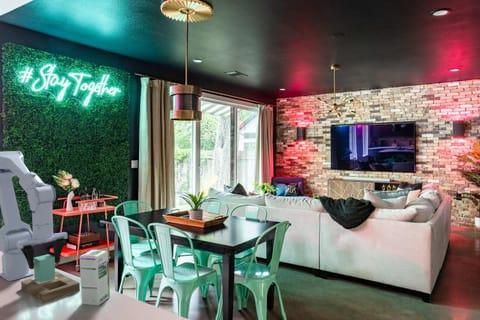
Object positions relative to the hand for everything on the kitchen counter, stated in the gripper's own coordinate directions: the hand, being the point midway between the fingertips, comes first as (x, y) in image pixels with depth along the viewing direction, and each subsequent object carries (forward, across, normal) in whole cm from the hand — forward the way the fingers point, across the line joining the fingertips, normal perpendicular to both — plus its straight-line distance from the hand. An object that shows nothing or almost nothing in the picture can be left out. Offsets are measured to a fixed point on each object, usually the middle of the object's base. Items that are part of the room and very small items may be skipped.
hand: (44, 265), depth 115 cm
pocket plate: (+7, 0, -4) cm, 8 cm away
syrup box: (+7, +5, -22) cm, 24 cm away
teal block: (+4, 0, 0) cm, 4 cm away
